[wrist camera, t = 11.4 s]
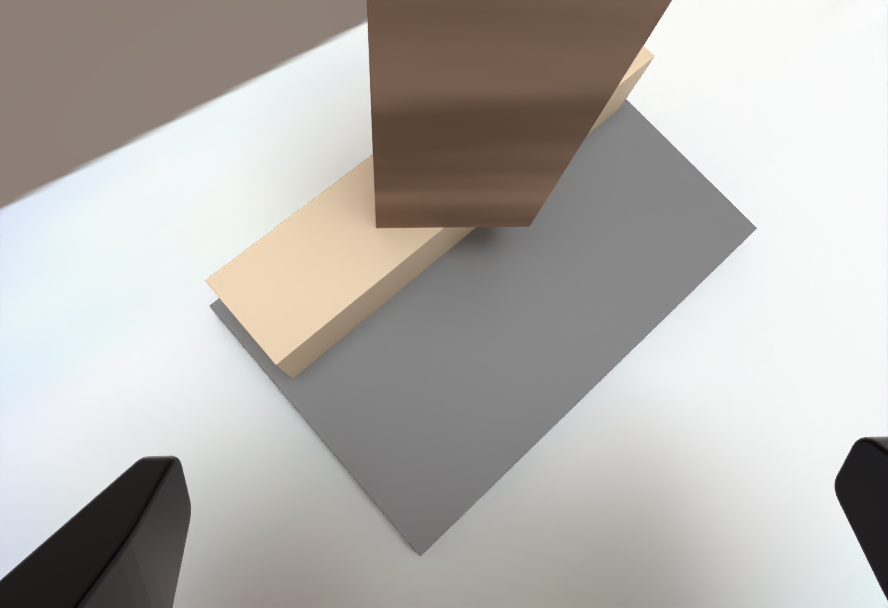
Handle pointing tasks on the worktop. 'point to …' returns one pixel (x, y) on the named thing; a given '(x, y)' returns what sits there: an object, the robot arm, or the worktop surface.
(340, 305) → the stand
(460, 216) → the post
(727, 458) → the worktop surface
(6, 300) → the worktop surface
